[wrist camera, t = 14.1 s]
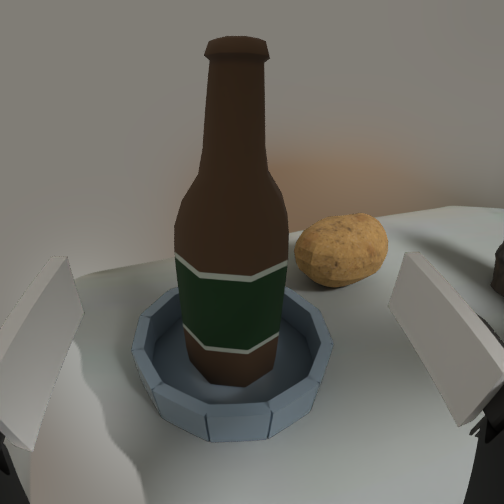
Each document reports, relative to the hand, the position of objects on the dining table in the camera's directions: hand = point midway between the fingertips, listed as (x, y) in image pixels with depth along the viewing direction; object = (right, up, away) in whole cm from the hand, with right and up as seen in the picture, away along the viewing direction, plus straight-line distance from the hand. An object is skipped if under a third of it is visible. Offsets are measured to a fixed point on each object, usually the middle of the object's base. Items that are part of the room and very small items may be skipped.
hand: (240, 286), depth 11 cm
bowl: (-1, -9, +15) cm, 18 cm away
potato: (+11, -2, +28) cm, 30 cm away
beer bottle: (-1, -8, +15) cm, 17 cm away
